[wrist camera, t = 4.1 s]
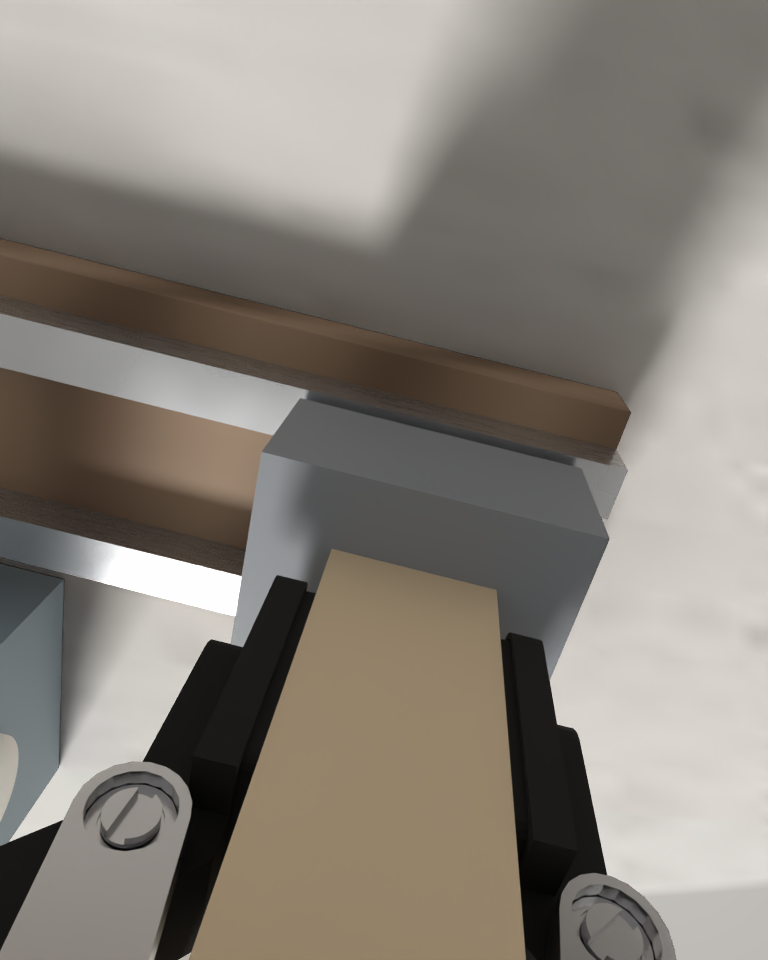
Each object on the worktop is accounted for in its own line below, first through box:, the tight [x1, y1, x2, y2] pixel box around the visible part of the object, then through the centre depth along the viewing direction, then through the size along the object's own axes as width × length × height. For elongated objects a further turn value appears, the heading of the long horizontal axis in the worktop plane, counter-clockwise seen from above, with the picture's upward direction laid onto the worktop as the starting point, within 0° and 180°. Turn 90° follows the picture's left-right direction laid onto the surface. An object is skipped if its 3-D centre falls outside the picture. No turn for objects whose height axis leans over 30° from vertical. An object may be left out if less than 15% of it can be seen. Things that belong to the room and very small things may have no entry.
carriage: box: [189, 398, 609, 960], centre depth 11 cm, size 6×6×10 cm
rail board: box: [0, 239, 631, 616], centre depth 17 cm, size 23×8×3 cm, turn 77°
